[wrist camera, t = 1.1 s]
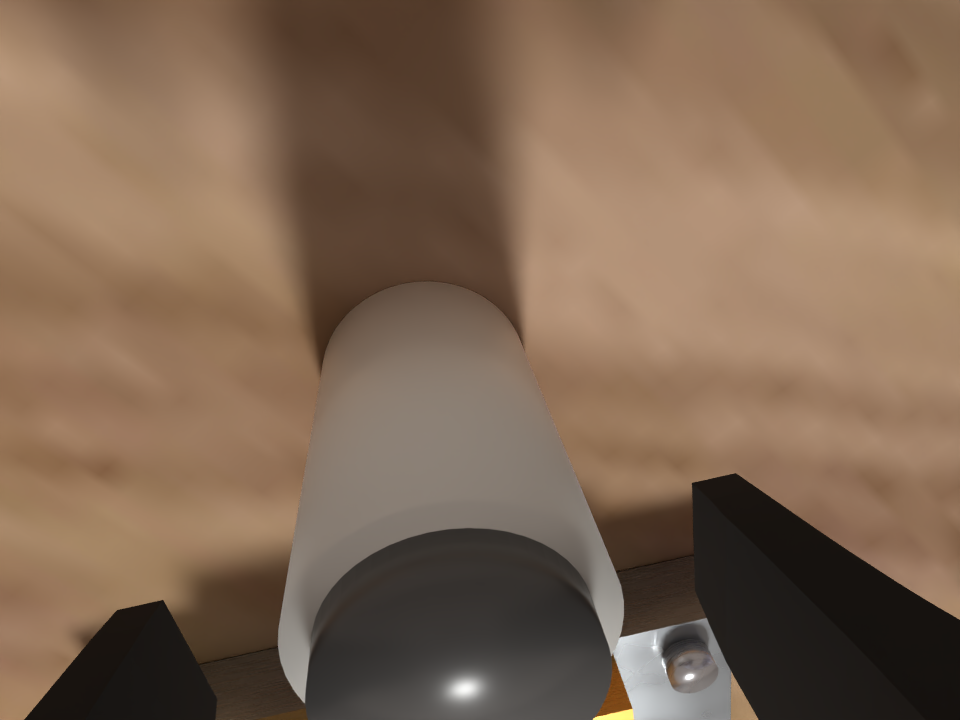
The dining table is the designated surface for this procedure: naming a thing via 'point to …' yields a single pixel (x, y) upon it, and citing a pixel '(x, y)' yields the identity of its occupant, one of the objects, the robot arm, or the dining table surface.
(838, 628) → the robot arm
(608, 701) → the grey fixture plate
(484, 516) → the lidded can
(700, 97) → the dining table surface
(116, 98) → the dining table surface
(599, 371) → the dining table surface
